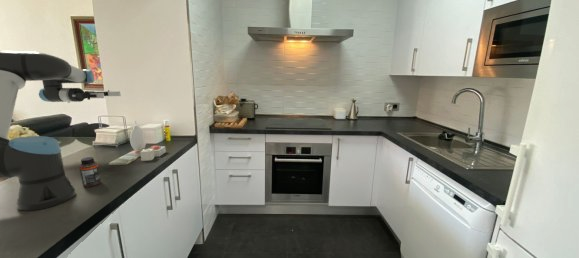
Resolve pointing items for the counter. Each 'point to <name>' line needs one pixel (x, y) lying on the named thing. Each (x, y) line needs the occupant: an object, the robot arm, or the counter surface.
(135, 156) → the track board
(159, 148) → the red button
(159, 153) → the button housing
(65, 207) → the counter surface
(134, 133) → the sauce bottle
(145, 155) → the ivory die
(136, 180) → the counter surface
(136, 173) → the counter surface
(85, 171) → the supplement bottle
